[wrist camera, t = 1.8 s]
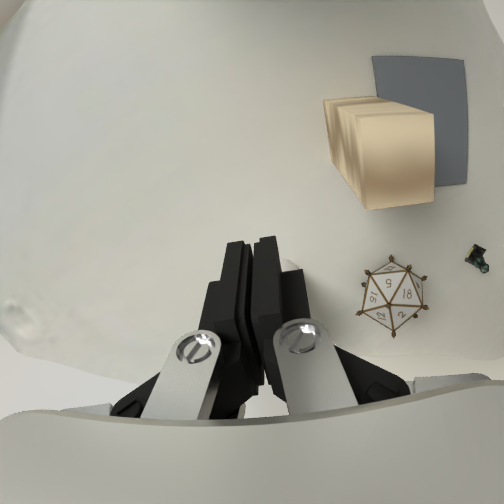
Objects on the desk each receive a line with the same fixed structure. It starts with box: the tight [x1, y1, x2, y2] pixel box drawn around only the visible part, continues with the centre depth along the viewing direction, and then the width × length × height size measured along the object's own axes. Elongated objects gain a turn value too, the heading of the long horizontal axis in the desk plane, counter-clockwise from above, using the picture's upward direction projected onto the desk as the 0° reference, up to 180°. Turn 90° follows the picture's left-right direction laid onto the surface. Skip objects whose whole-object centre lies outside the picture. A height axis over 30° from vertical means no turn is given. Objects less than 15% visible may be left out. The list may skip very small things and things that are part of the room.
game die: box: [356, 255, 429, 339], centre depth 34 cm, size 9×8×10 cm
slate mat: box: [372, 56, 468, 187], centre depth 27 cm, size 14×11×1 cm
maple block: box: [323, 96, 435, 210], centre depth 23 cm, size 6×5×12 cm
